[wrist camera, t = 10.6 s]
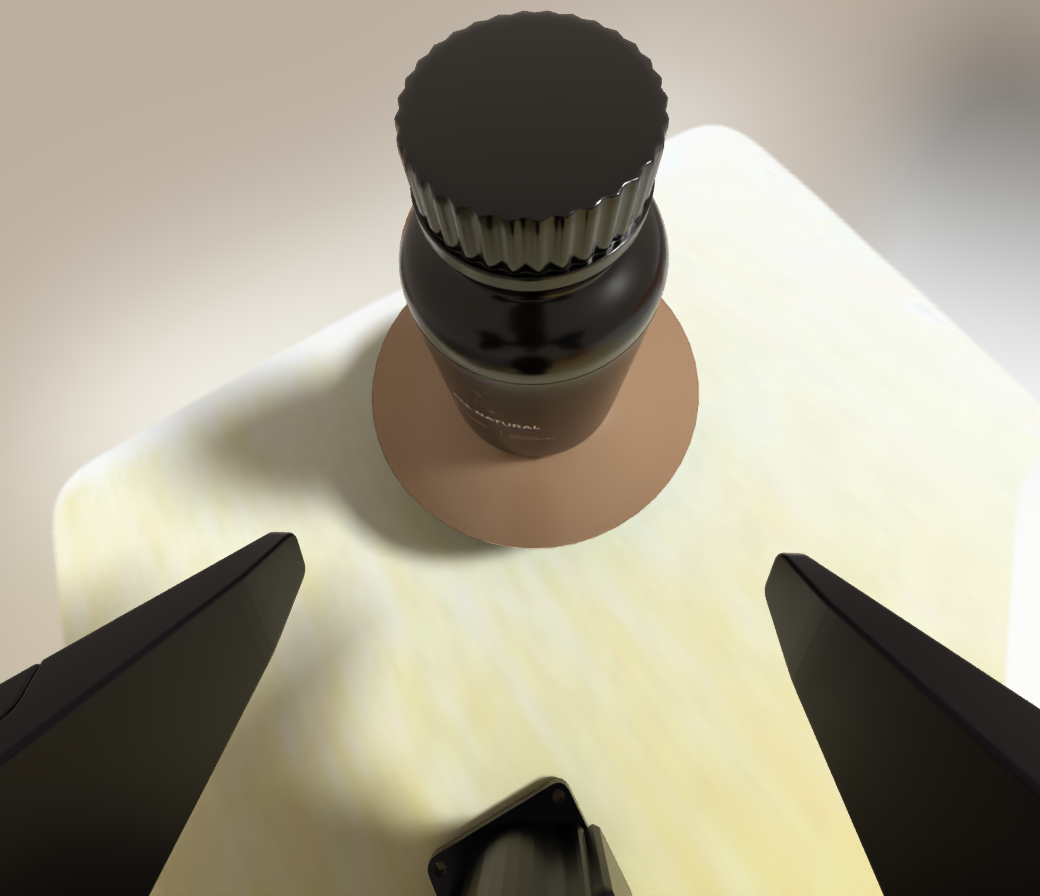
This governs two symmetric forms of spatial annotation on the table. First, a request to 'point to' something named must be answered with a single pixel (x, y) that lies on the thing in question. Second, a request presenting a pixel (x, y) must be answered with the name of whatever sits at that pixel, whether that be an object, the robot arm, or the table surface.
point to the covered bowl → (536, 480)
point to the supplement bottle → (533, 221)
